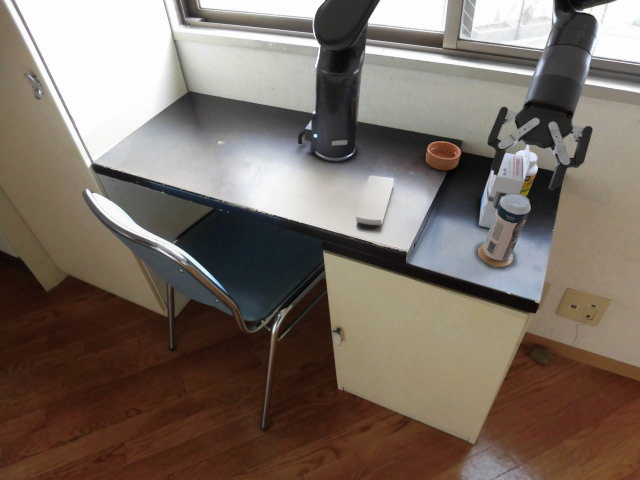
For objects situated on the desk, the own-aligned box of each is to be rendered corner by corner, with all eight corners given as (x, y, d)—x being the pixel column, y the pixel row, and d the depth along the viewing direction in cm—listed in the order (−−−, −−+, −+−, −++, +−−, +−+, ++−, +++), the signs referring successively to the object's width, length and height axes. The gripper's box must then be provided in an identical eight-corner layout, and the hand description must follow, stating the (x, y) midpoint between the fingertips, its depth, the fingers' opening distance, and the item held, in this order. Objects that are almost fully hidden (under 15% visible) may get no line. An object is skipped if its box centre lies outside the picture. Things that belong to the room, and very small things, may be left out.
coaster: (476, 262, 83) (476, 260, 83) (479, 240, 87) (480, 238, 87) (511, 271, 82) (512, 269, 81) (513, 248, 86) (514, 246, 85)
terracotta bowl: (422, 166, 104) (424, 155, 102) (428, 150, 109) (430, 138, 107) (455, 173, 102) (458, 162, 100) (459, 156, 107) (463, 145, 105)
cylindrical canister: (511, 264, 82) (534, 211, 74) (483, 260, 83) (503, 206, 75) (508, 245, 86) (530, 193, 77) (481, 241, 86) (500, 188, 78)
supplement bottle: (504, 208, 94) (521, 165, 87) (491, 191, 98) (506, 149, 91) (530, 204, 95) (548, 162, 88) (515, 188, 99) (532, 146, 92)
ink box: (480, 199, 96) (501, 135, 86) (505, 204, 95) (530, 140, 85) (478, 226, 90) (500, 161, 80) (504, 231, 89) (531, 166, 79)
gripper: (513, 63, 72) (478, 164, 73) (614, 83, 68) (577, 190, 69) (508, 83, 80) (476, 174, 80) (599, 102, 75) (565, 198, 76)
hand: (523, 181), depth 74 cm, fingers open, 8 cm apart
